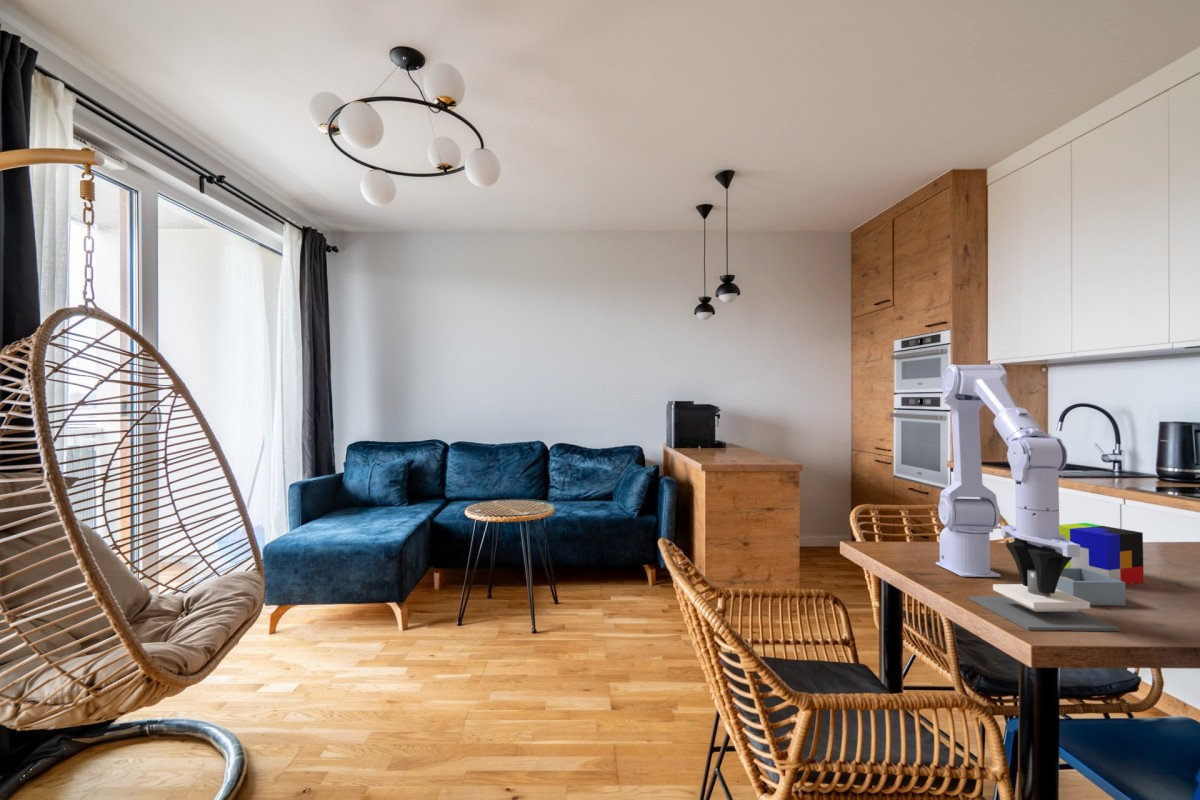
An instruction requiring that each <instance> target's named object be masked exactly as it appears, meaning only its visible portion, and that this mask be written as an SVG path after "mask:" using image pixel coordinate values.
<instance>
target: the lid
mask: <svg viewBox="0 0 1200 800" xmlns="http://www.w3.org/2000/svg"><path fill="white" fill-rule="evenodd" d="M1027 575H1028V586H1024V585H1023V584H1022V583H1020V584H1019V583H1015V584H1013V583H1009V584H1008V583H1007V584H1006V583H1001V584H1000V583H999V584H998V583H997V584H996V583H995V584H994V583H993V584H992V591H994V592H996V593H998V594H1000V595H1002V597H1005V598H1007V599H1009V600H1012V601H1014V602H1016V603H1018V604H1020V605H1022V606H1025V607H1027V608H1029V609H1031V610H1033V611H1078V610H1079V609H1080V610H1083V609H1086V610H1087V609H1091V605H1090V602H1088V601H1085V600H1083V599H1080V598H1078V597H1075V596H1073V595H1070V594H1068V593H1065V592H1063V591H1060V590H1057V589H1056V590H1055V593H1040V592H1039V590H1038V586H1037V577H1036V570H1035V569H1029V570H1027Z"/></svg>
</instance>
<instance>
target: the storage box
mask: <svg viewBox="0 0 1200 800" xmlns="http://www.w3.org/2000/svg"><path fill="white" fill-rule="evenodd" d="M1056 589H1057V590H1060V591H1063V592H1065V593H1068V594H1070V595H1073V596H1075V597H1078V598H1080V599H1083V600H1085V601H1088V602H1090V606H1127V604H1126V601H1127V600H1126V599H1127V597H1126V585H1125V582H1122V581H1119V580H1116V579H1113V578H1110V577H1107V576H1104V575H1101V574H1098V573H1095V572H1092V571H1089V570H1086V569H1083V568H1064V569H1063V571H1062V573H1061V575H1060V578H1059V581H1058V584H1057V587H1056Z"/></svg>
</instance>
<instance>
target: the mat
mask: <svg viewBox="0 0 1200 800" xmlns="http://www.w3.org/2000/svg"><path fill="white" fill-rule="evenodd" d="M968 598H969V600H970V601H972V602H973V601H974V603H975V602H976V604H977V603H978V604H977V605H979V606H981V607H983V608H985V609H987V610H988V611H991V612H993V613H994V614H997V615H998V616H1000V617H1002V618H1003V619H1006V620H1008V621H1010V622H1011V623H1014V624H1016V625H1017V626H1019V627H1020V628H1021V627H1022V628H1023V629H1025V630H1027V631H1045V632H1046V631H1053V632H1054V631H1055V632H1056V631H1058V630H1072V631H1071V632H1073V631H1075V632H1121V628H1120V627H1118V626H1116V625H1115V624H1112V623H1110V622H1108V621H1105V620H1103V619H1100V618H1098V617H1095V616H1093V615H1091V614H1088V613H1086V612H1084V611H1082V610H1079V609H1078V611H1033V610H1031V609H1029V608H1027V607H1025V606H1022V605H1020V604H1018V603H1016V602H1014V601H1012V600H1009V599H1007V598H1005V597H1003V596H969V597H968Z"/></svg>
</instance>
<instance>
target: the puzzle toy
mask: <svg viewBox="0 0 1200 800" xmlns="http://www.w3.org/2000/svg"><path fill="white" fill-rule="evenodd" d="M1059 534H1061V535H1065V539H1067V540H1069V541H1071V542H1073V543H1075V544H1079V545H1080V557H1072V559H1071V560H1070V561H1069V562H1068V563H1067V565H1066V566H1065V568H1083V569H1086V570H1089V571H1092V572H1095V573H1098V574H1101V575H1104V576H1107V577H1110V578H1113V579H1116V580H1119V581H1122V582H1125V586H1127V585H1126V584H1129V585H1133V584H1132V583H1137V584H1142V583H1141V582H1144V581H1145V580H1144V579H1145V577H1144V572H1145V571H1144V536H1143V535H1144V532H1142V531H1135V530H1129V529H1123V528H1117V527H1111V526H1105V525H1100V524H1094V523H1088V522H1080V523H1079V522H1078V523H1067V524H1059ZM1144 583H1145V582H1144Z"/></svg>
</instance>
